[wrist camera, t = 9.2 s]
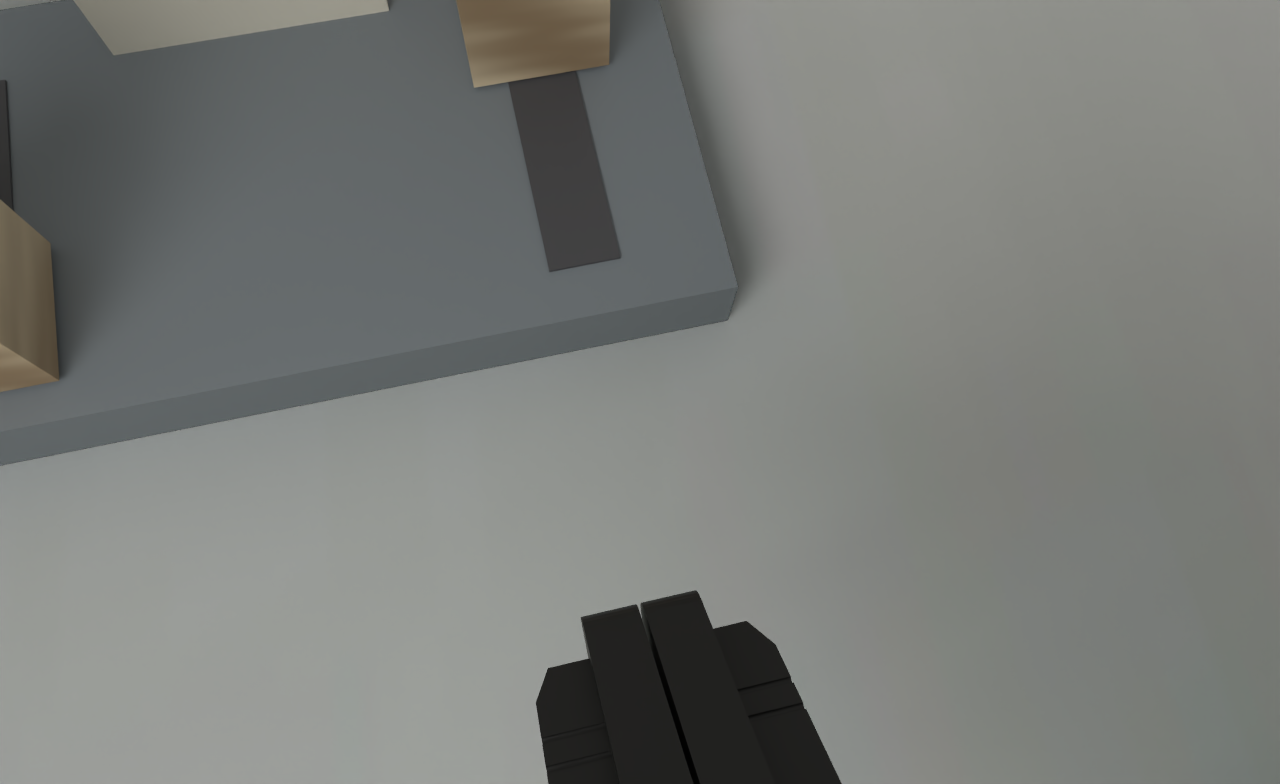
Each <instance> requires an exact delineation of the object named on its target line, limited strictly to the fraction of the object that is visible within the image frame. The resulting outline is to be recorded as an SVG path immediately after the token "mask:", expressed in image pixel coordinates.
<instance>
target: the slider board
mask: <svg viewBox="0 0 1280 784" xmlns="http://www.w3.org/2000/svg"><path fill="white" fill-rule="evenodd" d="M0 200H1V201H3V202H4V203H5V204H6V205H7V206H8V207H9V208H11V209H12V210H13V211H14V212H15V213H16V214H18V215H19V216H20V217H21V218H22V219H23V220H24V221H26V222H27V223H28V224H29V225H30V226H31V227H32V228H34V229H35V230H36V231H37V232H38V233H39V234H41V235H42V236H43V237H44V238H45V239H46V240H47V241H49V242H50V243H51V259H52V274H53V290H54V305H55V320H56V336H57V351H58V367H59V381H55V382H50V383H45V384H39V385H34V386H29V387H24V388H19V389H14V390H8V391H3V392H0V465H5V464H10V463H15V462H20V461H25V460H30V459H35V458H40V457H45V456H50V455H55V454H60V453H65V452H70V451H76V450H81V449H86V448H91V447H96V446H101V445H106V444H111V443H116V442H121V441H126V440H131V439H136V438H141V437H146V436H151V435H156V434H161V433H166V432H171V431H176V430H181V429H186V428H191V427H196V426H201V425H206V424H211V423H216V422H221V421H226V420H231V419H236V418H241V417H246V416H251V415H256V414H261V413H266V412H271V411H276V410H281V409H286V408H291V407H296V406H301V405H306V404H311V403H316V402H321V401H326V400H331V399H336V398H341V397H346V396H351V395H356V394H361V393H366V392H371V391H376V390H381V389H386V388H391V387H396V386H401V385H406V384H411V383H416V382H421V381H426V380H431V379H436V378H441V377H446V376H451V375H456V374H461V373H466V372H471V371H476V370H481V369H486V368H491V367H496V366H501V365H506V364H511V363H516V362H521V361H526V360H531V359H536V358H541V357H546V356H551V355H556V354H561V353H566V352H571V351H576V350H581V349H586V348H591V347H596V346H601V345H606V344H611V343H616V342H621V341H626V340H631V339H636V338H641V337H646V336H651V335H656V334H661V333H666V332H671V331H676V330H681V329H686V328H691V327H696V326H701V325H706V324H711V323H716V322H721V321H726V320H728V317H729V314H730V311H731V308H732V304H733V301H734V298H735V295H736V292H737V289H738V284H737V281H736V277H735V273H734V270H733V266H732V263H731V259H730V255H729V252H728V248H727V245H726V241H725V237H724V234H723V230H722V226H721V223H720V219H719V216H718V212H717V208H716V205H715V201H714V197H713V194H712V190H711V187H710V183H709V179H708V176H707V172H706V168H705V165H704V161H703V158H702V154H701V150H700V147H699V143H698V139H697V136H696V132H695V129H694V125H693V121H692V118H691V114H690V110H689V107H688V103H687V100H686V96H685V92H684V89H683V85H682V81H681V78H680V74H679V71H678V67H677V63H676V60H675V56H674V53H673V49H672V45H671V42H670V38H669V34H668V31H667V27H666V24H665V20H664V16H663V13H662V9H661V5H660V2H659V0H610V47H609V65H605V66H599V67H593V68H587V69H581V70H576V71H570V72H564V73H558V74H552V75H546V76H541V77H535V78H529V79H523V80H517V81H511V82H505V83H500V84H494V85H488V86H482V87H476V88H474V85H473V80H472V75H471V71H470V66H469V61H468V56H467V51H466V47H465V42H464V37H463V32H462V27H461V22H460V18H459V13H458V8H457V3H456V0H61V1H55V2H49V3H42V4H36V5H29V6H23V7H16V8H10V9H4V10H0Z"/></svg>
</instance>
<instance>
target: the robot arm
mask: <svg viewBox="0 0 1280 784" xmlns="http://www.w3.org/2000/svg"><path fill="white" fill-rule="evenodd" d="M641 615H642V618H641ZM641 615H640V612H639V609H638V606H637V605H636V604H635V605H631V606H627V607H623V608H618V609H614V610H610V611H605V612H601V613H597V614H592V615H588V616H584V617H581V622H582V627H583V632H584V637H585V642H586V648H587V653H588V658H589V659H585V660H581V661H577V662H573V663H568V664H564V665H560V666H556V667H552V668H548V670H547V673H546V676H545V679H544V681H543V684H542V687H541V690H540V693H539V696H538V698H537V701H536V706H537V712H538V719H539V725H540V732H541V738H542V743H543V751H544V757H545V764H546V769H547V777H548V783H549V784H841V782H840V780H839V778H838V775H837V773H836V771H835V769H834V767H833V765H832V763H831V761H830V759H829V756H828V754H827V752H826V750H825V748H824V746H823V744H822V742H821V740H820V737H819V735H818V733H817V731H816V729H815V727H814V725H813V723H812V721H811V718H810V716H809V714H808V712H807V710H806V709H804V706H803V702H802V699H801V697H800V695H799V693H798V691H797V689H796V687H795V685H794V683H792V681H791V676H790V674H789V672H788V670H787V668H786V666H785V664H784V661H783V659H782V657H781V655H780V653H779V651H778V649H777V647H776V645H775V644H774V643H773V642H772V641H770V640H769V639H768V638H767V637H765V636H764V635H763V634H762V633H761V632H759V631H758V630H757V629H756V628H754V627H753V626H752V625H751V624H750V623H748V622H747V621H745V622H740V623H736V624H732V625H728V626H723V627H719V628H715V629H713V628H712V625H711V623H710V620H709V618H708V615H707V613H706V610H705V608H704V605H703V603H702V600H701V598H700V596H699V594H698V592H697V591H696V590H695V591H690V592H686V593H682V594H677V595H673V596H669V597H665V598H660V599H656V600H652V601H647V602H643V603H641Z"/></svg>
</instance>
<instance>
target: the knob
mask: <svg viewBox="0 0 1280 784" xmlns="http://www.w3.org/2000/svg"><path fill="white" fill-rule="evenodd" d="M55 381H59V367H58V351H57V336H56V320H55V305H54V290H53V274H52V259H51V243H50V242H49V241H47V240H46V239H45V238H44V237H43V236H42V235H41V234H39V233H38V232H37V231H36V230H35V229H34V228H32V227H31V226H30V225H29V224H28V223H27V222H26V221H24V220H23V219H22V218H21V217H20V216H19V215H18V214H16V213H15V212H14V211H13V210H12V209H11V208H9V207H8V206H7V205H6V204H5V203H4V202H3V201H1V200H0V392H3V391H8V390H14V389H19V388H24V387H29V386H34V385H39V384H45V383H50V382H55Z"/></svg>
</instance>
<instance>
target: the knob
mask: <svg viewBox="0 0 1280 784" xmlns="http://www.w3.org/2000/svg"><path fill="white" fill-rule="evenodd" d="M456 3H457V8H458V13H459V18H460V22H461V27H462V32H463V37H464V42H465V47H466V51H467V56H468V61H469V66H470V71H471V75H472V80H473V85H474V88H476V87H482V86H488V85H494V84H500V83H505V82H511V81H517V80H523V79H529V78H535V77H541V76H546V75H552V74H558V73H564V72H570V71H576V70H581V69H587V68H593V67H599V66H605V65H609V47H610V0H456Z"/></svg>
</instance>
